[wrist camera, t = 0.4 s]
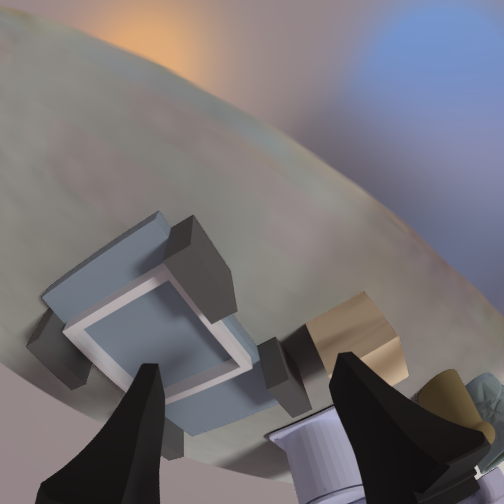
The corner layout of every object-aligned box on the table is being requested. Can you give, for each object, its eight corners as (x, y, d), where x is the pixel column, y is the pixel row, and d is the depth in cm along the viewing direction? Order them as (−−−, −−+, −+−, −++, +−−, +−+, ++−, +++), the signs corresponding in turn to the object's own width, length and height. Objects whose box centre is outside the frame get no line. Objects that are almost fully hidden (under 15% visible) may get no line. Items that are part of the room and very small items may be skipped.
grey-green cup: (433, 414, 34) (471, 478, 24) (484, 361, 31) (533, 422, 21) (461, 417, 38) (494, 469, 27) (504, 371, 35) (544, 421, 24)
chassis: (303, 377, 26) (318, 416, 22) (178, 428, 27) (178, 465, 23) (181, 196, 18) (175, 222, 14) (37, 295, 19) (12, 332, 15)
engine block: (378, 331, 25) (408, 376, 20) (326, 360, 25) (349, 409, 21) (363, 290, 23) (398, 335, 18) (305, 323, 23) (328, 375, 18)
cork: (408, 402, 31) (448, 473, 21) (442, 365, 29) (493, 435, 19) (432, 405, 33) (470, 467, 23) (464, 372, 31) (509, 432, 21)
